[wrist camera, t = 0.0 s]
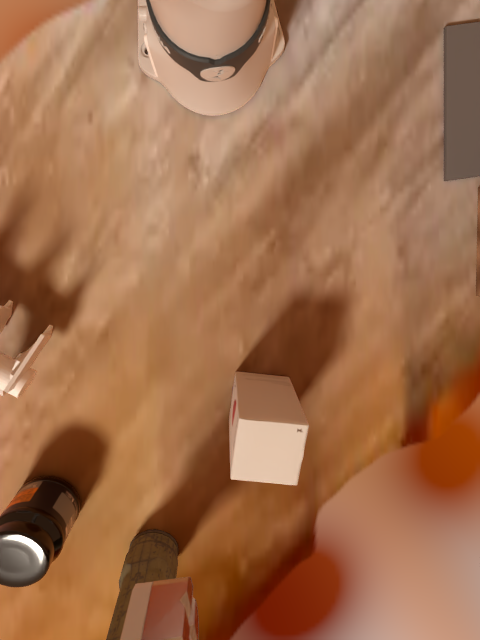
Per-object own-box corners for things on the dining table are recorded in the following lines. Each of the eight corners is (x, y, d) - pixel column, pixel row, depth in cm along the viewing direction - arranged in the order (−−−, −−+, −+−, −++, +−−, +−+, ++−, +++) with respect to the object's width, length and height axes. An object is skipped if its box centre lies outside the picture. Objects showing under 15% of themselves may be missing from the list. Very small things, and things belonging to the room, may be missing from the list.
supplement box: (234, 369, 60) (238, 415, 46) (290, 375, 61) (311, 423, 46) (227, 421, 62) (228, 481, 48) (281, 426, 63) (298, 487, 49)
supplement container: (6, 488, 64) (-43, 548, 52) (61, 463, 63) (24, 517, 51) (41, 535, 66) (2, 601, 54) (94, 511, 65) (67, 573, 54)
